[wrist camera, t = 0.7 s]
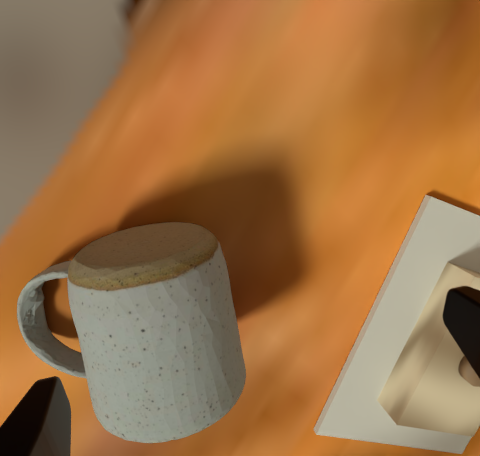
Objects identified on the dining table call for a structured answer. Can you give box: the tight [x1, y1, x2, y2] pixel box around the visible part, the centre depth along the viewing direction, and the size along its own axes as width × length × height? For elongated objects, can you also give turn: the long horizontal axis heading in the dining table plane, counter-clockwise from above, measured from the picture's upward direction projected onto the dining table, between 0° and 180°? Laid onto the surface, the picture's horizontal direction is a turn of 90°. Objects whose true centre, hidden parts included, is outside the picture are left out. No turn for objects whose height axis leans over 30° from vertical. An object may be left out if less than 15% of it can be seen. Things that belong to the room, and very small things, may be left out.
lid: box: [377, 262, 480, 437], centre depth 28 cm, size 11×7×3 cm, turn 158°
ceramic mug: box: [17, 222, 246, 443], centre depth 20 cm, size 11×8×8 cm
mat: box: [314, 195, 480, 454], centre depth 30 cm, size 18×14×1 cm
